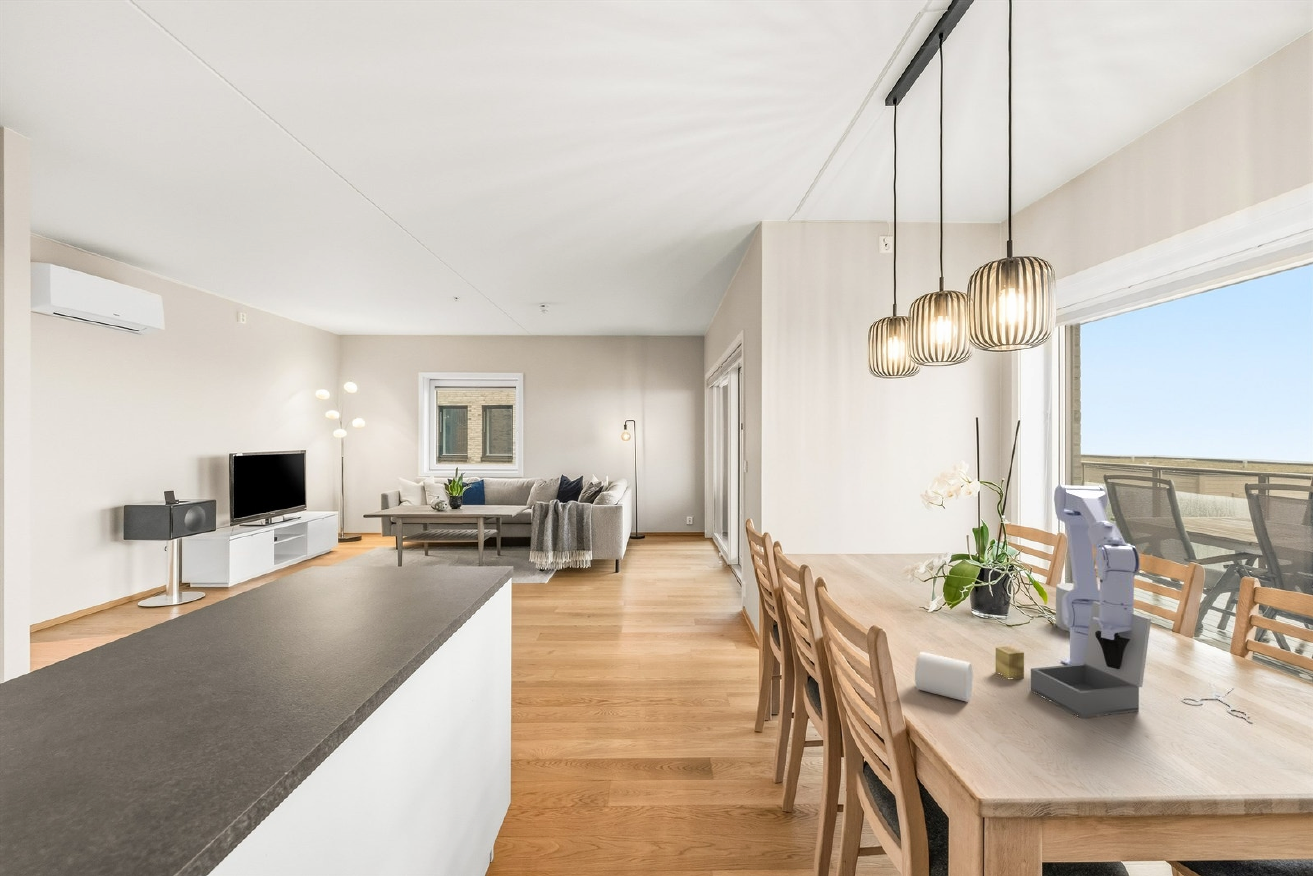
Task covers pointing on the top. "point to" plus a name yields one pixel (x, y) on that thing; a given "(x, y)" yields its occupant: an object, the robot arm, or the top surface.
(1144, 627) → the lid
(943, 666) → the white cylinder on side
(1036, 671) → the box
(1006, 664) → the block
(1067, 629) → the toilet paper roll
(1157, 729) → the top surface
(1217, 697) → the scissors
